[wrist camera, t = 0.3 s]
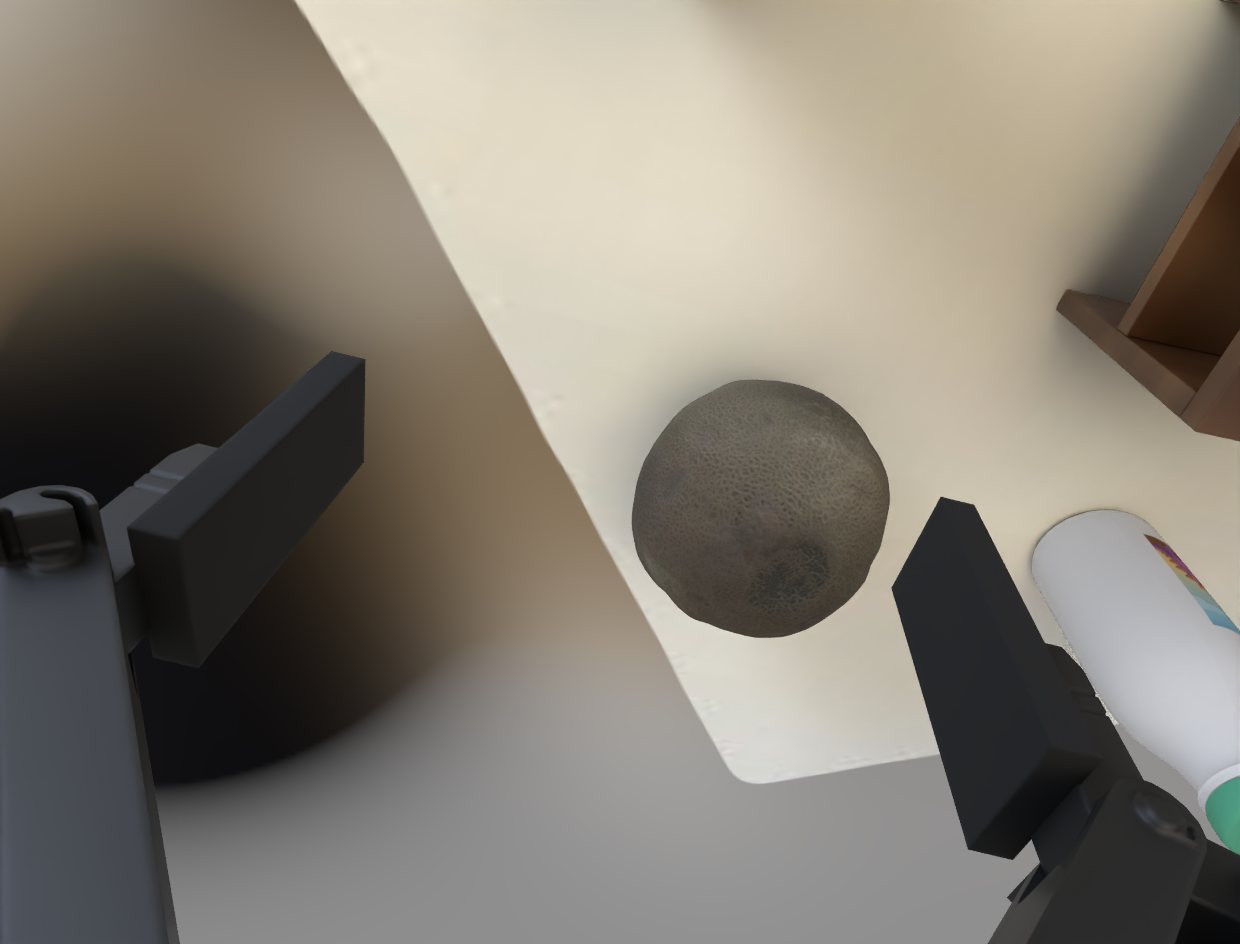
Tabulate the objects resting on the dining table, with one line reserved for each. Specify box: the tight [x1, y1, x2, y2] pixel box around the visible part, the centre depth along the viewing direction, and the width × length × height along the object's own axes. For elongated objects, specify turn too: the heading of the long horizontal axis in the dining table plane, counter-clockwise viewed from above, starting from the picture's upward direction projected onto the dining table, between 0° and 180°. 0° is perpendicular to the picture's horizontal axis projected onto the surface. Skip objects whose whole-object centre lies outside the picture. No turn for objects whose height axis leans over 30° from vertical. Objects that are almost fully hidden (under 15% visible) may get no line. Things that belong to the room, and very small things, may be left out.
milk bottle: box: [1032, 510, 1240, 855], centre depth 41 cm, size 8×8×20 cm
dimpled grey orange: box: [632, 380, 890, 638], centre depth 41 cm, size 14×14×15 cm
